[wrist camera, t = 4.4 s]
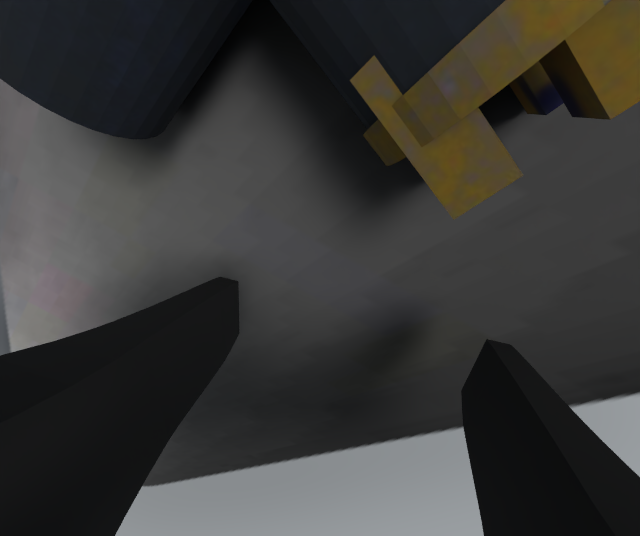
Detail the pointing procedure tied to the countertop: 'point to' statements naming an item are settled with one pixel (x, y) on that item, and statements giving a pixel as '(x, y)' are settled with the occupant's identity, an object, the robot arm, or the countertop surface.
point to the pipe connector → (342, 68)
